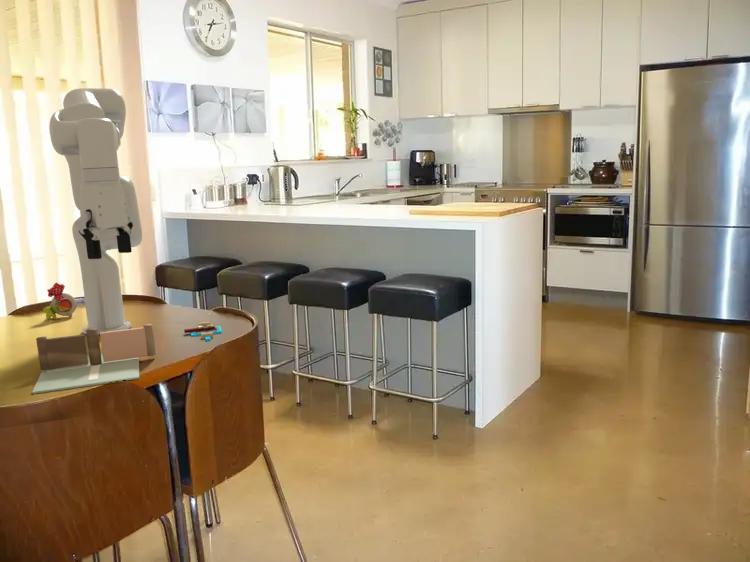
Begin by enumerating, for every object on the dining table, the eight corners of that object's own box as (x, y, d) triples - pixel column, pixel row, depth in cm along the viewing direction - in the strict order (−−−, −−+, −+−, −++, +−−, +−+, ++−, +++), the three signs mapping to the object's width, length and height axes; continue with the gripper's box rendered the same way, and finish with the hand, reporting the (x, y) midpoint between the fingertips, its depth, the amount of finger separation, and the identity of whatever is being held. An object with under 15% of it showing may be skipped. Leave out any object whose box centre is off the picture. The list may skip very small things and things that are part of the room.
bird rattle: (72, 321, 209) (41, 312, 206) (83, 288, 209) (53, 279, 206) (69, 325, 203) (37, 317, 200) (80, 291, 203) (49, 282, 200)
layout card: (47, 361, 155) (47, 359, 155) (138, 349, 161) (138, 347, 161) (32, 394, 131) (32, 391, 131) (139, 378, 138) (139, 376, 138)
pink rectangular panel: (103, 360, 150) (100, 329, 149) (155, 353, 154) (152, 323, 153) (103, 362, 148) (99, 331, 147) (156, 355, 152) (152, 325, 151)
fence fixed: (41, 370, 146) (36, 335, 145) (102, 362, 150) (97, 327, 149) (40, 373, 144) (35, 337, 143) (101, 364, 148) (97, 329, 147)
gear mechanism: (186, 345, 165) (224, 341, 168) (183, 324, 164) (222, 320, 167) (184, 328, 184) (218, 324, 187) (182, 309, 183) (216, 305, 186)
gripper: (113, 176, 153) (122, 250, 156) (56, 179, 137) (67, 261, 140) (141, 175, 151) (149, 250, 154) (86, 177, 135) (96, 261, 138)
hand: (110, 255), depth 147 cm, fingers open, 9 cm apart
